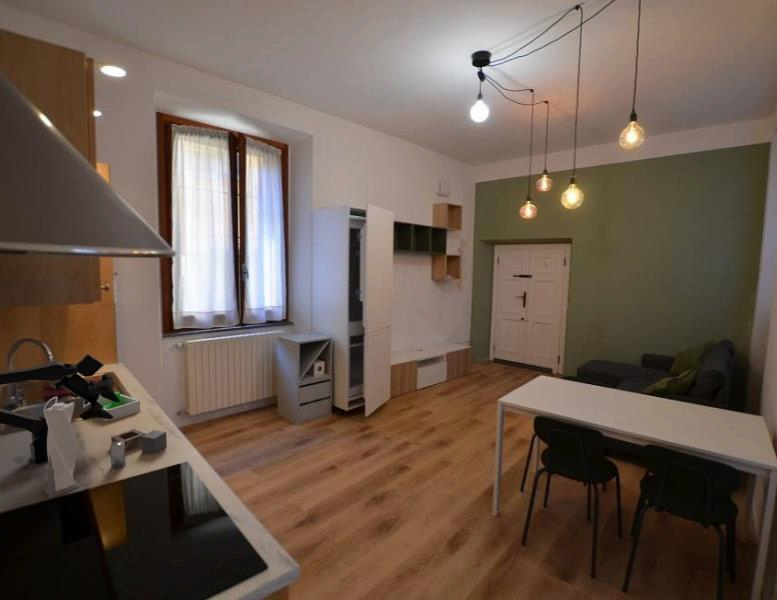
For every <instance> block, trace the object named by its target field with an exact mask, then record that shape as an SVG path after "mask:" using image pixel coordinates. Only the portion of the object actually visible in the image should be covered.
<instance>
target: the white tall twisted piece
mask: <svg viewBox="0 0 777 600" xmlns="http://www.w3.org/2000/svg"><path fill="white" fill-rule="evenodd" d="M54 399H55V400H54ZM53 400H54V401H55V402H54V404H52V406H49V407H47V406H48V405H49V403H50V402H51V401H53ZM74 409H75V402H74V401H71V402H69V403H65V402H58V396H54V397H52V398H50V399H49V400H48V401H47V402H46V403H45V405H44V407H43V410H42V411H43V412H42V413H44V415H45V419H46V422H47V425H48V435H47V454H48V461H47V462H48V463H47V464H48V469H47V470H46V471H47V480H48V482H47V486H45V487H43V488H42V489H43V491H44V493H46V496H47V497H48V498H49V499H50V498H53V497H56V496H59V495H62V494H64V492H65V493H67V491H68V492H70V491H72V490H76V489H78V488H80V487H79V484H77V481H76V480H75V479H74V476H73V475H74V472H75V465H76V458H77V441H76V435H75V431H74V428H73V426H72V424H71V422H72V418H73V413H74Z"/></svg>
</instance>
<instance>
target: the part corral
mask: <svg viewBox="0 0 777 600" xmlns="http://www.w3.org/2000/svg"><path fill="white" fill-rule="evenodd" d="M120 397H121V406H118V407H115V408H111V409H105V408H103V409H104V410H105V411H107V412H108V413H109V414H111V415H112V416H113V418H112V419H103V418H100V419H99V420H101V419H102V421H103V422H104V421H105V422H106V421H107V422H111V421H114V420H118V419H121V418H124V417H127V416H130V415H132V414H133V415H134V414H136V413H139V412H140V411H141V400H139V399H137V398H133V397H130V396H127V395H125V394H121V393H120ZM98 402H99V403H100V404H101V406H102V405H108V404H112V401H111V400H109V399H106V398H104V397H101V396H100V398H99V400H98ZM82 403H83V404H82V405H83V406H82V407H83V408H84V407H86V406H87V405H89V404H90V403H87V404H84V401H83V402H82ZM83 408H82V409H83Z"/></svg>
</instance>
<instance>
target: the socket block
mask: <svg viewBox="0 0 777 600" xmlns="http://www.w3.org/2000/svg"><path fill="white" fill-rule="evenodd" d="M145 434H146V433H145V432H142V431H140V430H137V429H135V428H132V429H129V430H126V431H124V432H120V433H118V434H115V435H113V436H111V438H110V441H111V444H112V443H114V442H118V441H124V442H125V453H127V452H130V451H131V450H134V449H136V448H139V447H142V439H141V437H142V436H144V435H145Z"/></svg>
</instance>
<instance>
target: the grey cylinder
mask: <svg viewBox="0 0 777 600" xmlns="http://www.w3.org/2000/svg"><path fill="white" fill-rule="evenodd" d="M109 445H110V446H109V449H110V467H111V468H110V469H112V470H119V469H122V468H124V467H125V466H126V452H125V442H124V441H118V442H114V443H111V444H109Z"/></svg>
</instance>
